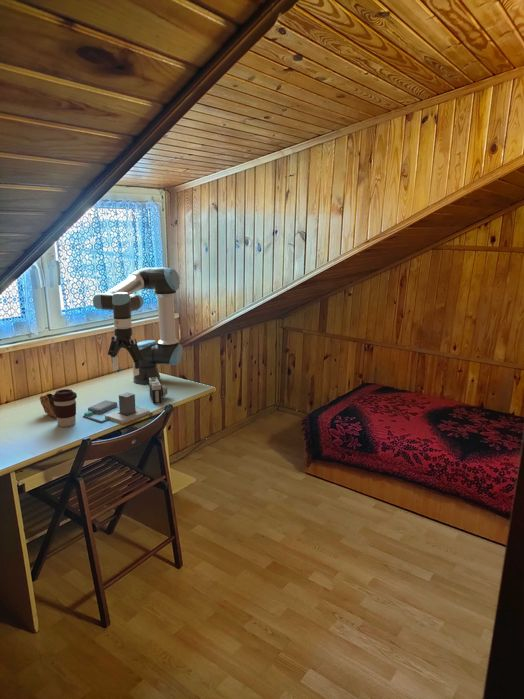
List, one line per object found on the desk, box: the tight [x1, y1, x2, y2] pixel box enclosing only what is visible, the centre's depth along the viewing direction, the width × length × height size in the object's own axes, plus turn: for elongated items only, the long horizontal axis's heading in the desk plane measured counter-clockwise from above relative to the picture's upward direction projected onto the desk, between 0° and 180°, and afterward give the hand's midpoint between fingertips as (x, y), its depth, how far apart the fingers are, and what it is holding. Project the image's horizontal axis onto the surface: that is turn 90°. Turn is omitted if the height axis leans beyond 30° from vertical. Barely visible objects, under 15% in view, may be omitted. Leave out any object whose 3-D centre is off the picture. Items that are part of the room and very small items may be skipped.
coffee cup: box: [52, 388, 78, 428], centre depth 201 cm, size 10×10×15 cm
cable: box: [82, 411, 111, 424], centre depth 210 cm, size 5×13×1 cm, turn 57°
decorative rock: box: [39, 393, 57, 419], centre depth 212 cm, size 12×6×11 cm, turn 63°
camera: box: [148, 377, 168, 405], centre depth 236 cm, size 14×8×10 cm, turn 20°
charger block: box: [118, 391, 136, 416], centre depth 213 cm, size 5×5×10 cm
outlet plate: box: [104, 405, 151, 425], centre depth 214 cm, size 16×12×2 cm
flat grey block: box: [87, 399, 118, 415], centre depth 222 cm, size 12×7×3 cm, turn 157°
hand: (125, 372), depth 213 cm, fingers open, 13 cm apart
